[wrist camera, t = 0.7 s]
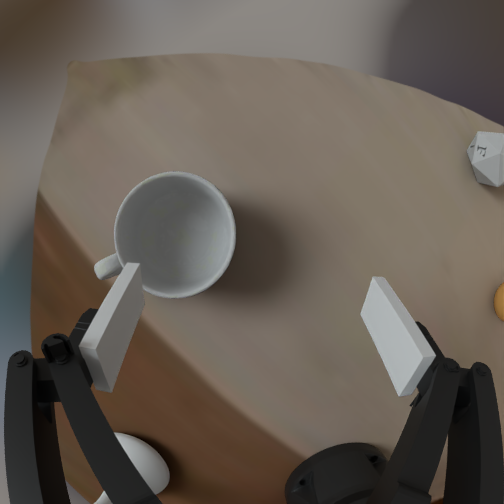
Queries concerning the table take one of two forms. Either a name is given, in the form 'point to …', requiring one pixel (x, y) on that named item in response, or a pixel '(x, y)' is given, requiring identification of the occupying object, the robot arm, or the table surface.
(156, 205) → the teacup
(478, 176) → the die
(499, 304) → the ball
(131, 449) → the flower in vase
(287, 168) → the table surface
